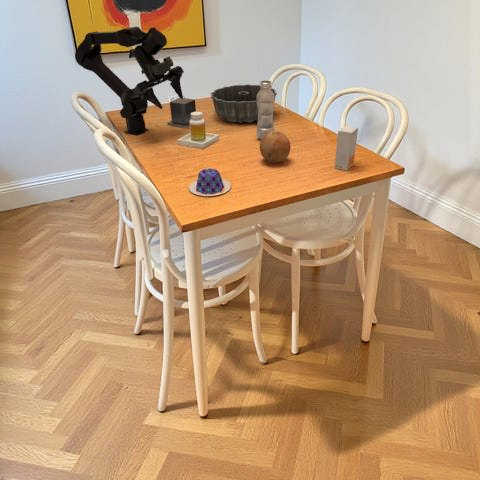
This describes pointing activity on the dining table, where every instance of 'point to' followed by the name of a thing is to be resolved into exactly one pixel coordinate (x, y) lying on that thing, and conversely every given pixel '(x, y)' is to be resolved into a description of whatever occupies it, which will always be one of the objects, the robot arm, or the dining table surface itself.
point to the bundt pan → (237, 102)
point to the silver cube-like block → (181, 112)
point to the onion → (275, 146)
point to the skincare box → (346, 147)
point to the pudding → (209, 183)
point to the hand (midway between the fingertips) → (172, 103)
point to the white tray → (187, 142)
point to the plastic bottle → (265, 109)
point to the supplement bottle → (197, 127)
